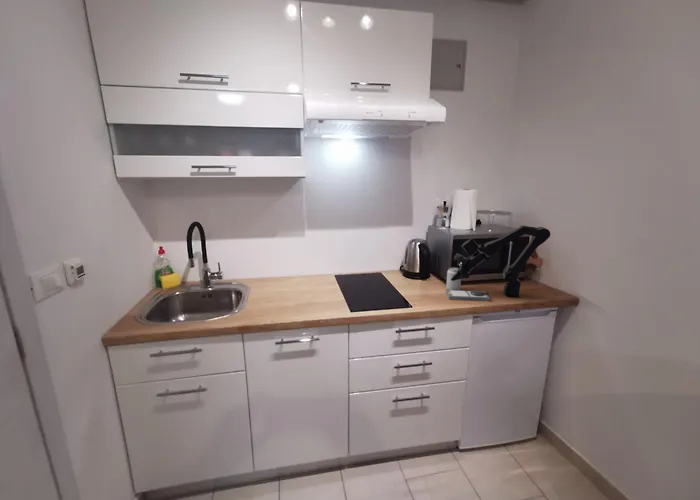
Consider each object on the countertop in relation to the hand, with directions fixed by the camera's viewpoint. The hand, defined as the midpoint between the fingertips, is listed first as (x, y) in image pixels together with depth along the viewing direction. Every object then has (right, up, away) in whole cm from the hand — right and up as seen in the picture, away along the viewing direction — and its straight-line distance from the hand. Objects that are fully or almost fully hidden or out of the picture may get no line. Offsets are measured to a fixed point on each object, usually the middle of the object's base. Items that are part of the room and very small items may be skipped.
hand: (451, 278), depth 180 cm
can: (+1, -7, +1) cm, 7 cm away
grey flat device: (+5, -9, -9) cm, 14 cm away
